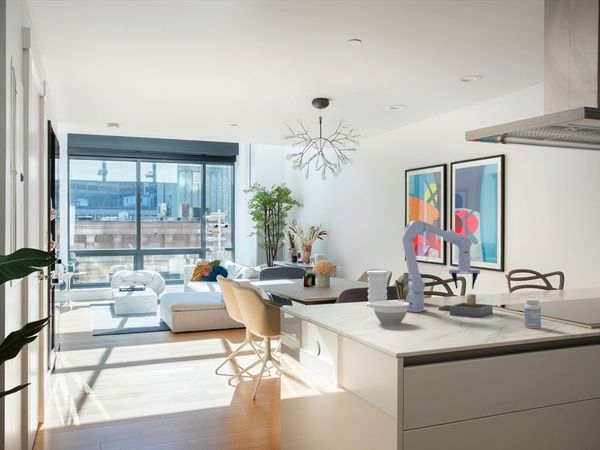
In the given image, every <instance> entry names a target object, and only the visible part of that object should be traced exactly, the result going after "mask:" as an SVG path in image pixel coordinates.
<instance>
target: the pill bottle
mask: <svg viewBox="0 0 600 450" xmlns="http://www.w3.org/2000/svg"><path fill="white" fill-rule="evenodd" d="M525 303H526V304H525V305H524V308H523V309H524V313H523V314H524V316H523V317H524V327H525V328H527V329H533V330H534V329H541V328H542V309H541V308H542V307H541V306H540V305H539V303H540V301H539V299H538V298H526V299H525Z"/></svg>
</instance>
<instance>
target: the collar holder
mask: <svg viewBox="0 0 600 450" xmlns="http://www.w3.org/2000/svg"><path fill="white" fill-rule="evenodd" d="M450 306H452V305H451V304H450V305H448V304H445V305H441V306H438V310H439V311H446V312H447V311H448V312H450Z"/></svg>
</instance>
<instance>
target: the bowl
mask: <svg viewBox="0 0 600 450" xmlns="http://www.w3.org/2000/svg"><path fill="white" fill-rule="evenodd" d="M372 305H373V306H374V307H373V311H374V315H375V316H376V318H377V319H378V320H379V322H380V324H381V325H384V326H399V325H401V324H402V322H403V320H404V319H405V318H406V315H407V312H408V311H407V306H408V305H409V303H407V302H404V301H401V300H398V301H397V300H387V301H379V302H373V303H372Z"/></svg>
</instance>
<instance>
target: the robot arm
mask: <svg viewBox="0 0 600 450" xmlns="http://www.w3.org/2000/svg"><path fill="white" fill-rule="evenodd" d="M422 232H429V233H432V234H434V235H437V236H440V237H442V238H443V241H445V242H447V243H449V244H452V245H455V246H456V247H457V257H458V258H457V262H458V263H457V266H458V267H457V269H456V268H455V269H454V268H453V269H449V270H448V273H449V274H450V275H451V277H452V279H453V282H454V285H455V286H454V287H455V289H458V274H459V275H460V274H464V275H466V274H467V275H470V274H472V275H471V276H472V277H471V278H472V281H471V282H472V283H471V289H472V290H474V289H475V287H474V286H475V283H476V280H477V277H478V275H480V274H481V270H480V269H471V246H472V245H473V242H472V239H471V238H470V237H468V236H464V235H463V234H462V233H458V232H455V230H454V229H447V230H444V229H442V228H440V227H438V226H436V225H434V224H431V223H429V222H425V221H421V220H420V219H419V220H418V219H417V220H410V221H409V222H408V223H407V224H406V225H405V227H404V231H403V235H402V237H401V242H402V247H403V251H404V257H405V261H406V262H405V263H406V266H407V273H409V275H408V279H409V280H408V287H409V289H410V290H409V294H408V295H407V296H406V302H407V303H409V305H408V306H407V312H412V313H421V312H425V311H427V310H428V308H425V296H424V295H425V293H424V290H425V288H426V287H425V286H426V284H425V282H424V280H423V279H422V274H421V275H420V273H421V272H420V270H419V266H418V260H417V259H418V258H417V255H416V251H415V245H414V240H415V239H416V237H417V236H418V235H420V234H421V233H422Z"/></svg>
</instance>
